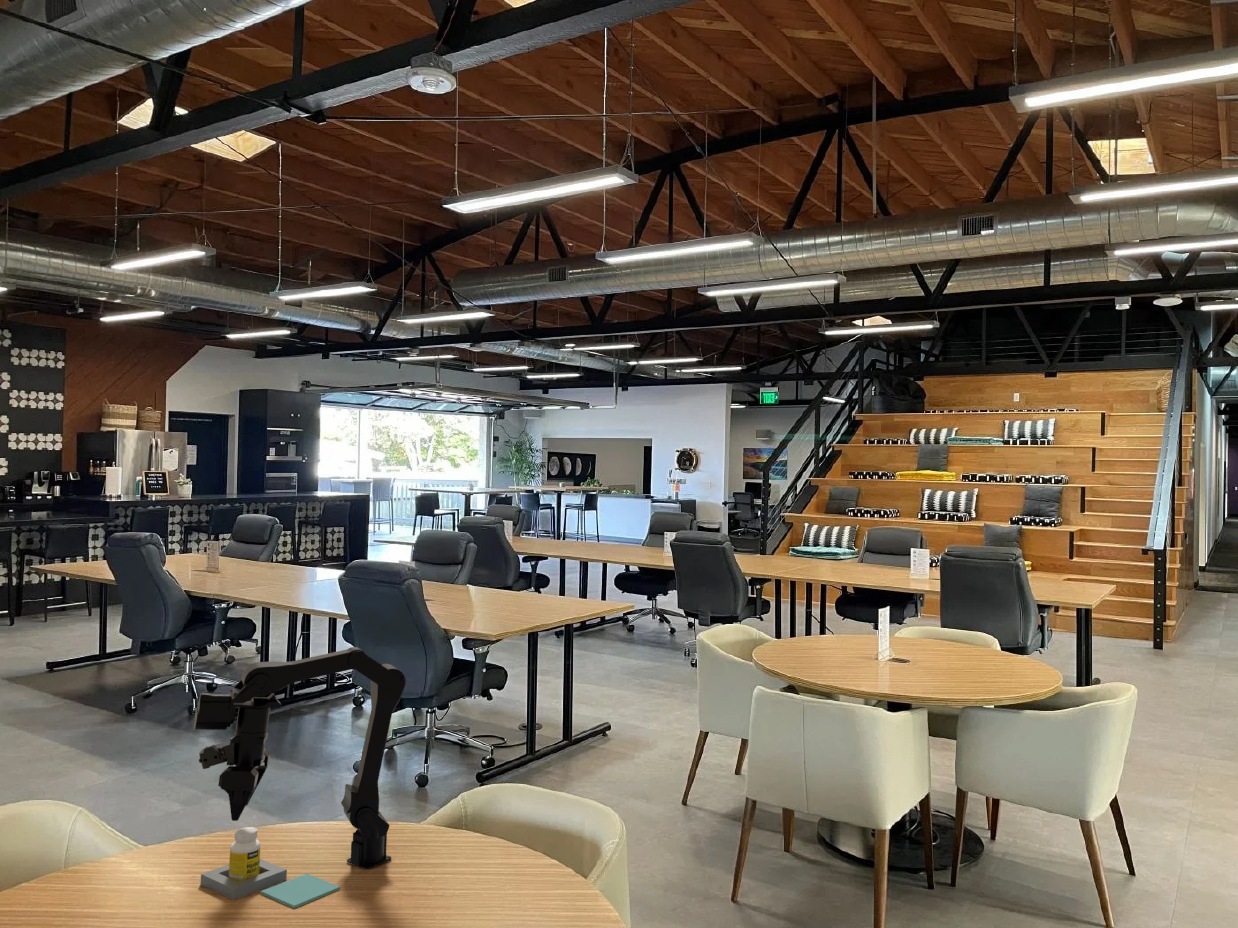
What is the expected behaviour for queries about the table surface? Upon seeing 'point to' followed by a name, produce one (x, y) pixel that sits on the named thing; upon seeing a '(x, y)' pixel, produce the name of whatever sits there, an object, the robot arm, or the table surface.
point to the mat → (300, 890)
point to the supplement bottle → (244, 855)
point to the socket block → (235, 890)
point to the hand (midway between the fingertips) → (239, 812)
